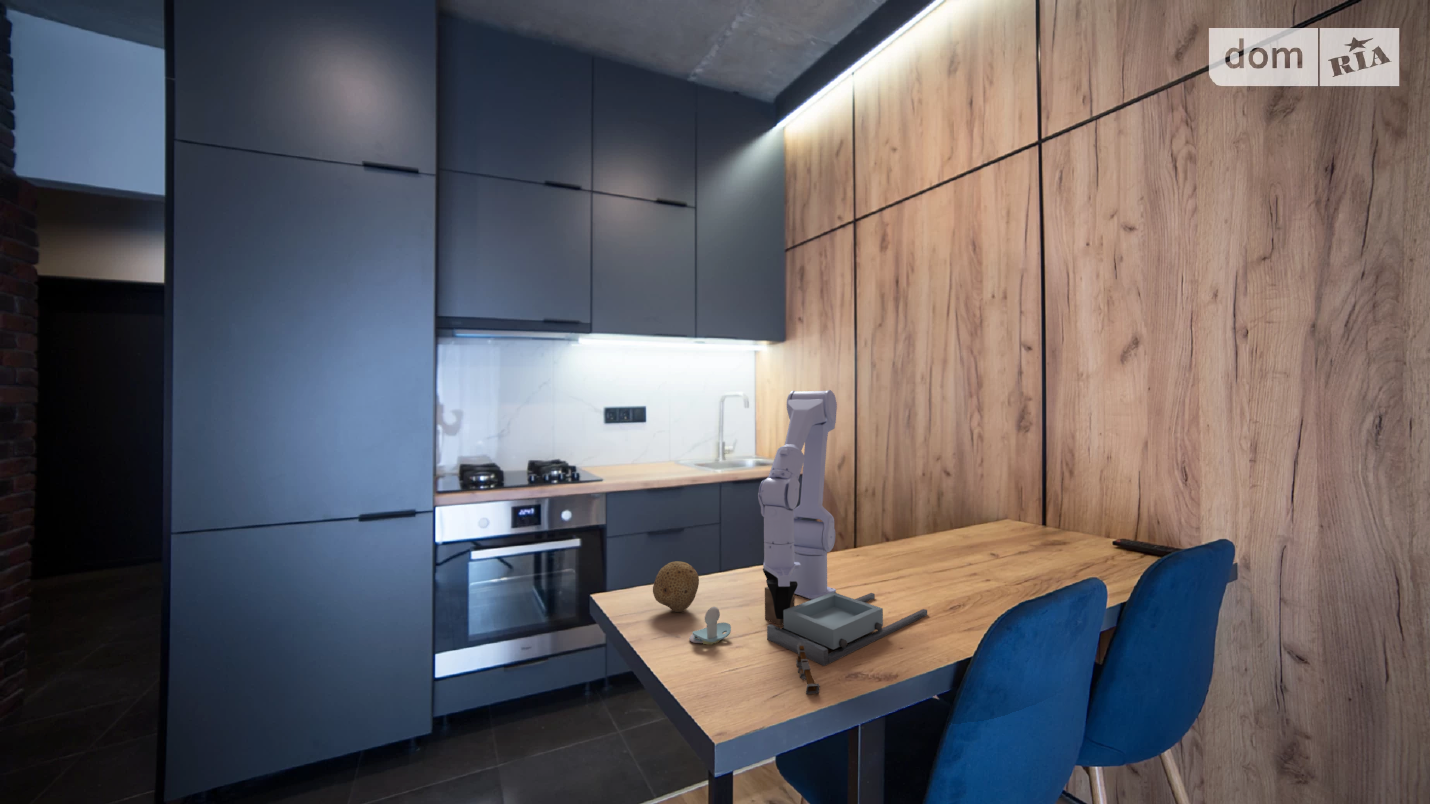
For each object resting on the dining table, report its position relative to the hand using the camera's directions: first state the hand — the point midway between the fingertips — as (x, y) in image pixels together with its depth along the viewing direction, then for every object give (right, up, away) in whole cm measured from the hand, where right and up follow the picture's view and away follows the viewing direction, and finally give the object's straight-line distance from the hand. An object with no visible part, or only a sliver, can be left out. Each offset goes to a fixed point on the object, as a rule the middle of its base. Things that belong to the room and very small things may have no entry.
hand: (779, 611), depth 103 cm
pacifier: (-14, -2, -8) cm, 16 cm away
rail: (+13, -1, -3) cm, 14 cm away
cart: (+9, 0, -7) cm, 11 cm away
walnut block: (0, -1, 0) cm, 1 cm away
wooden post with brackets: (+1, -2, -23) cm, 23 cm away
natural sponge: (-20, -2, +4) cm, 21 cm away
